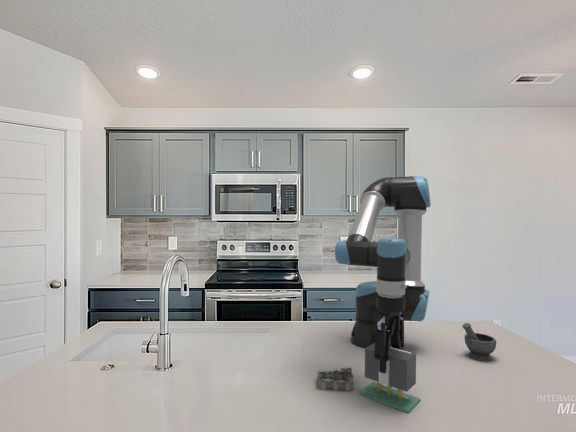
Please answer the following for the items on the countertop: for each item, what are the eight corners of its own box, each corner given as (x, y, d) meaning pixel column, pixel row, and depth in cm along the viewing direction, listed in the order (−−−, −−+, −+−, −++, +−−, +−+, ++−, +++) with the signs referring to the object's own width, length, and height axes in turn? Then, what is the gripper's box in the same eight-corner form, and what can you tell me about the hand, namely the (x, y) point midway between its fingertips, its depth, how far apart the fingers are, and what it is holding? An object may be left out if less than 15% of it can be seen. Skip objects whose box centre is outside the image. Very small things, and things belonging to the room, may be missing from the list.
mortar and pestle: (485, 351, 129) (485, 318, 128) (502, 362, 119) (502, 327, 119) (455, 351, 128) (455, 319, 128) (470, 362, 119) (470, 327, 119)
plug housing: (364, 377, 97) (364, 347, 97) (374, 370, 102) (375, 341, 102) (406, 391, 89) (407, 359, 89) (415, 383, 94) (416, 353, 94)
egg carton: (352, 380, 106) (353, 367, 106) (354, 393, 98) (354, 378, 98) (317, 377, 107) (317, 364, 107) (316, 390, 100) (316, 375, 100)
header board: (359, 393, 97) (359, 373, 97) (373, 383, 103) (373, 364, 103) (408, 413, 88) (408, 391, 88) (420, 400, 94) (420, 380, 94)
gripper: (387, 303, 86) (386, 397, 86) (417, 291, 100) (416, 372, 100) (360, 298, 91) (359, 387, 91) (392, 287, 105) (391, 364, 105)
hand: (389, 379), depth 96 cm, fingers closed on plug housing, 6 cm apart
